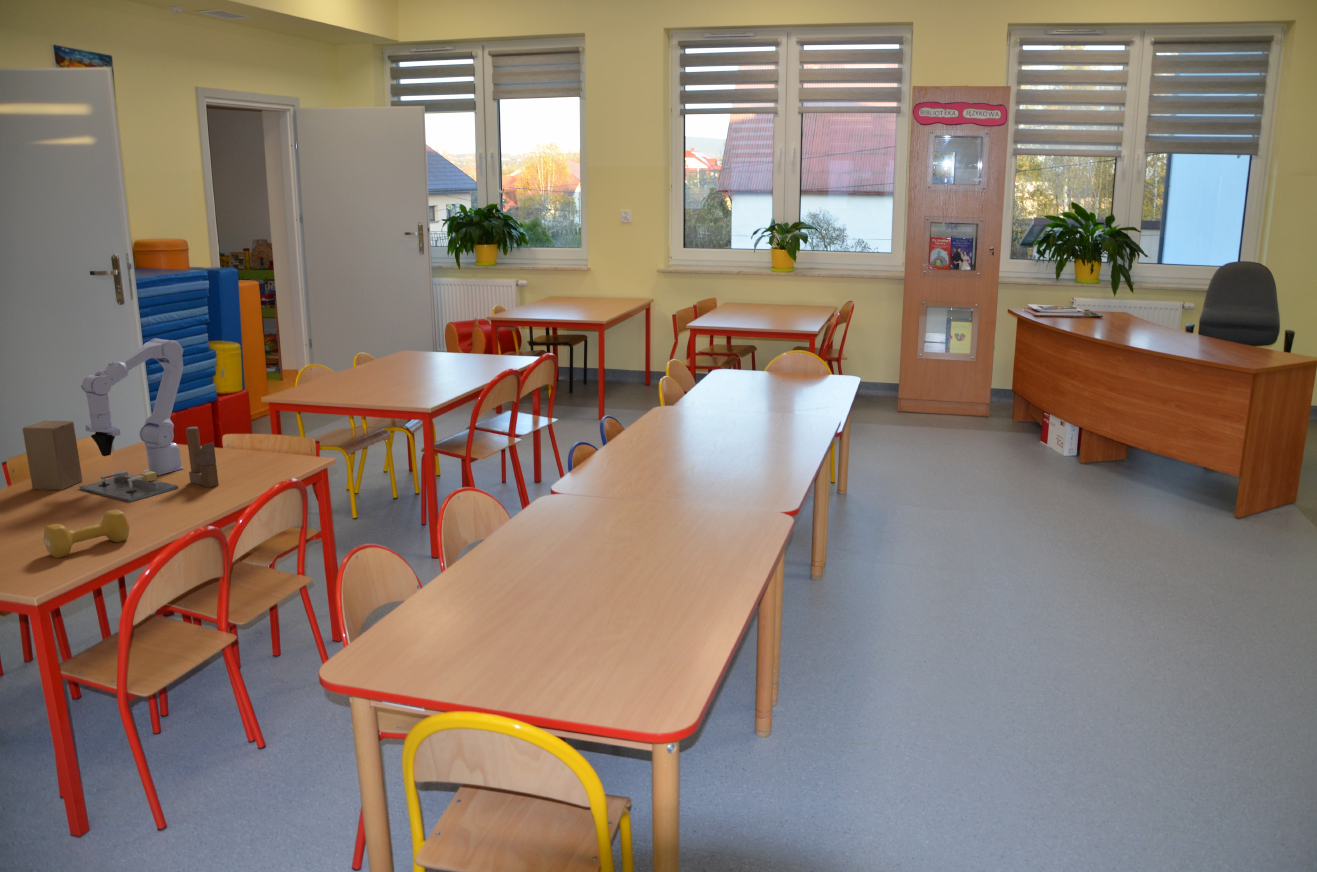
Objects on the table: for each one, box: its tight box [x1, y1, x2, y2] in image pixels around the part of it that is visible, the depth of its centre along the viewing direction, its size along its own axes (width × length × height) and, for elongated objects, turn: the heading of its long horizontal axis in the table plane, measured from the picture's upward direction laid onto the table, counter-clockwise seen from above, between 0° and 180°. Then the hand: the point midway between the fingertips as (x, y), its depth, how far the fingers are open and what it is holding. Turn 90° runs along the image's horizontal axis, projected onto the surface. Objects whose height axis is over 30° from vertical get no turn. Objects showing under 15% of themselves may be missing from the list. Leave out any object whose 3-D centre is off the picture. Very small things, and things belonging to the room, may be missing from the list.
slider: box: [128, 471, 158, 491], centre depth 300 cm, size 8×3×4 cm, turn 150°
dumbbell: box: [43, 509, 130, 559], centre depth 253 cm, size 19×9×8 cm, turn 141°
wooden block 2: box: [185, 426, 220, 489], centre depth 306 cm, size 4×11×18 cm, turn 55°
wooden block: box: [22, 420, 83, 491], centre depth 304 cm, size 10×10×20 cm
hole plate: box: [78, 470, 179, 503], centre depth 303 cm, size 16×26×4 cm, turn 60°
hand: (106, 455), depth 305 cm, fingers closed
